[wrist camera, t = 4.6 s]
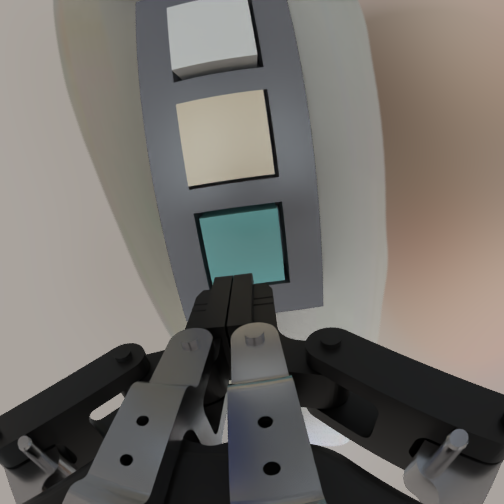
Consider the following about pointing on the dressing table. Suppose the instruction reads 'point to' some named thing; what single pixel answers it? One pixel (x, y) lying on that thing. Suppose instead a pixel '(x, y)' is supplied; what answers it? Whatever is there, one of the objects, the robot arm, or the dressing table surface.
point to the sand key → (225, 137)
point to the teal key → (244, 242)
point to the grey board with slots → (243, 189)
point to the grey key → (210, 37)
